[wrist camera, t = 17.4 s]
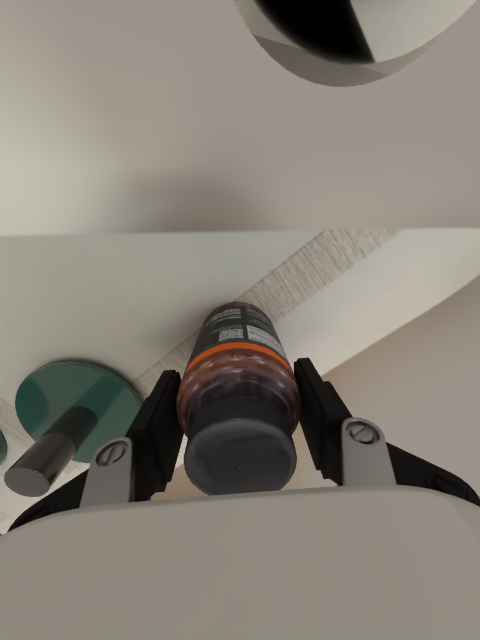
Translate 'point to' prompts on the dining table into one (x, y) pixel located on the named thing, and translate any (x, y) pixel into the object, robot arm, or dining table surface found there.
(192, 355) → the supplement bottle
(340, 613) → the robot arm
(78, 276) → the dining table surface
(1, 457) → the pot
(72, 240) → the dining table surface
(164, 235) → the dining table surface
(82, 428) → the lid
